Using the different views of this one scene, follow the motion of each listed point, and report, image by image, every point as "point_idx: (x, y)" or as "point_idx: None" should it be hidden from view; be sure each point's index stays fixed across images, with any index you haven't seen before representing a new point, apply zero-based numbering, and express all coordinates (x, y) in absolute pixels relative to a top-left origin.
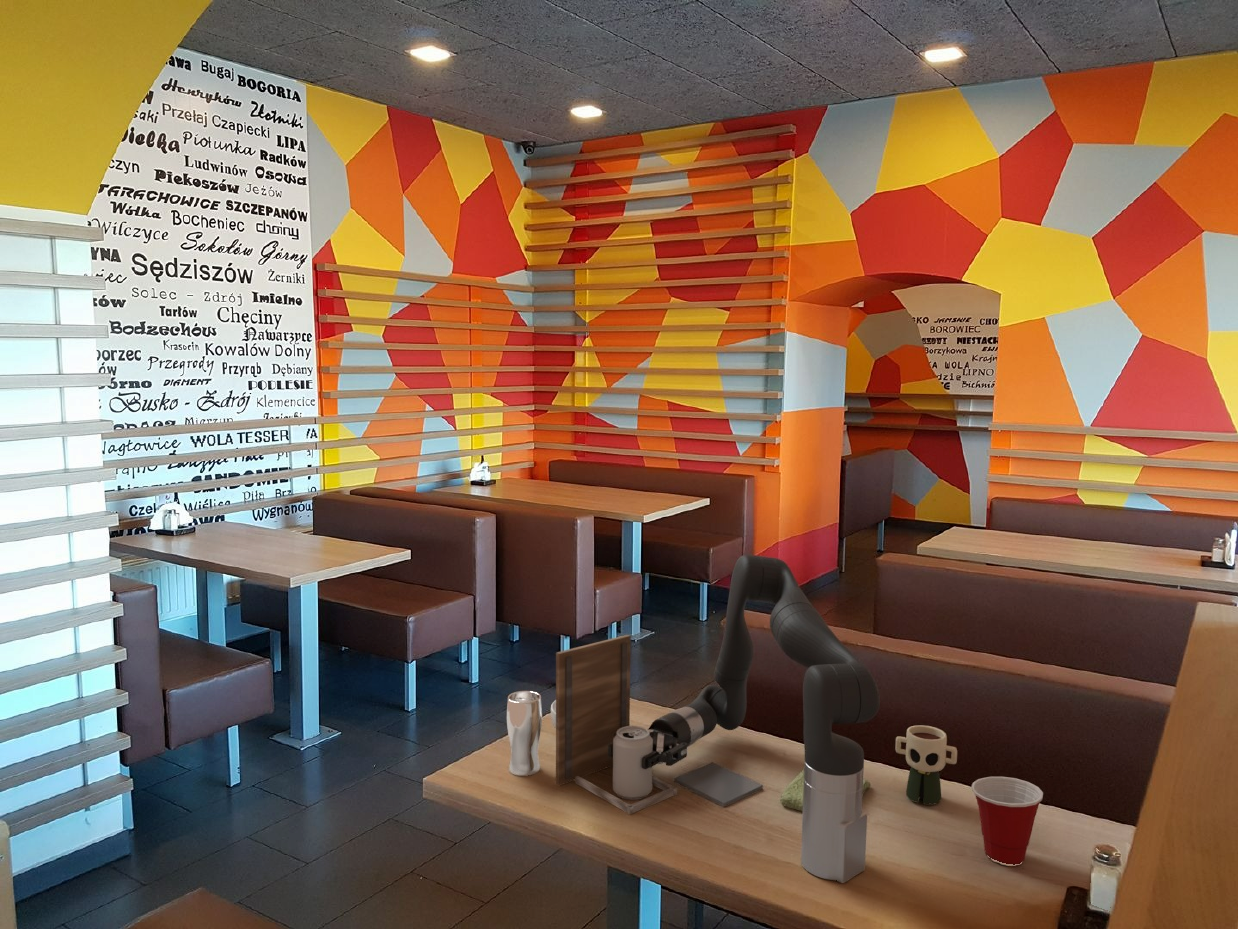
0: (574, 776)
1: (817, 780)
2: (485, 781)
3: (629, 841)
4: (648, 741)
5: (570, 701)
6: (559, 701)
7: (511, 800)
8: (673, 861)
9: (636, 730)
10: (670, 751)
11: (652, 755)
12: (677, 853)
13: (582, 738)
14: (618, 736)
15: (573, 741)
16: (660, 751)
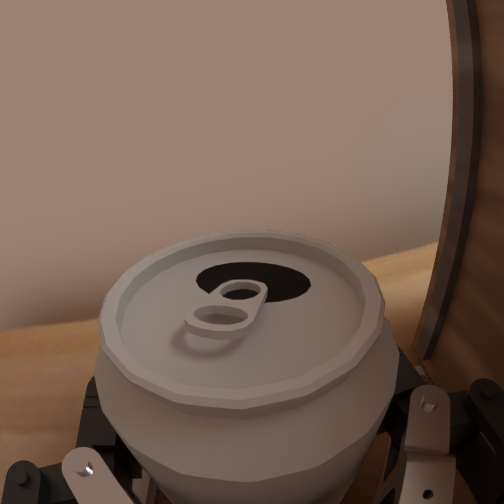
0: (435, 374)
1: None
2: None
3: (96, 334)
4: (102, 352)
5: (469, 95)
6: (454, 88)
7: (381, 271)
8: (11, 338)
9: (246, 314)
10: (12, 475)
11: (99, 410)
12: (9, 355)
13: (492, 297)
14: (268, 237)
15: (470, 273)
16: (69, 455)
